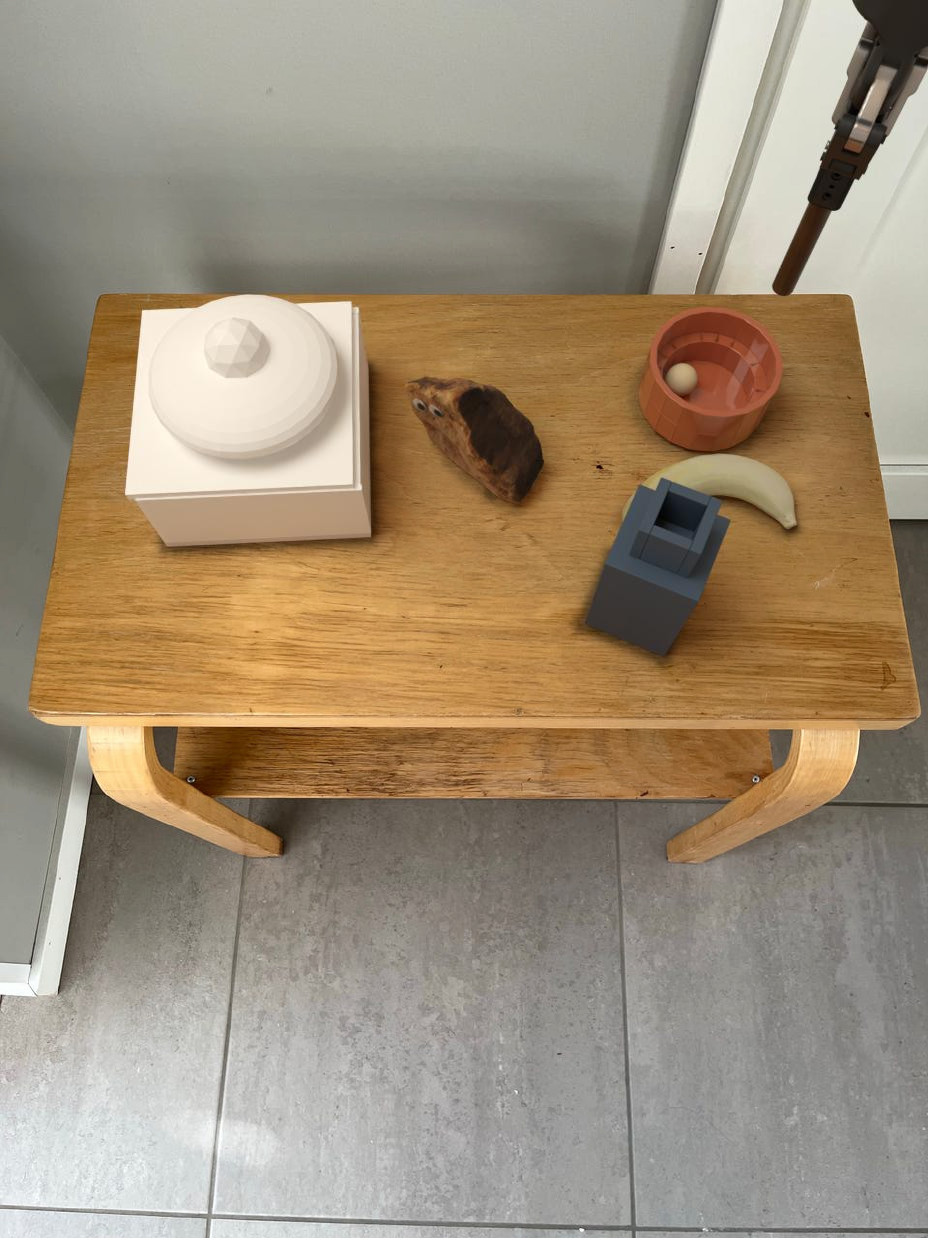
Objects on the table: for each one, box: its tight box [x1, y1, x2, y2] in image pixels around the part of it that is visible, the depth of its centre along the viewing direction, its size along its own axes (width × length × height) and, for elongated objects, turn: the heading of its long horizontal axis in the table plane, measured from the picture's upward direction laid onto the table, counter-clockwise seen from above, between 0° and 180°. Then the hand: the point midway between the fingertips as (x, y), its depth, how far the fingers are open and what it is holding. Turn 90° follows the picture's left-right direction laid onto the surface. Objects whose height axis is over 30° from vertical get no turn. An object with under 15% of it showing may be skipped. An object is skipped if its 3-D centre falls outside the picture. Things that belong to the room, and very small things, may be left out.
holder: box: [583, 477, 731, 657], centre depth 68 cm, size 7×7×16 cm
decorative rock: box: [404, 375, 545, 505], centre depth 76 cm, size 12×6×11 cm, turn 52°
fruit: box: [621, 453, 798, 530], centre depth 78 cm, size 7×15×3 cm, turn 97°
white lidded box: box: [124, 294, 372, 548], centre depth 74 cm, size 18×18×16 cm
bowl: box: [638, 306, 784, 452], centre depth 80 cm, size 11×11×6 cm
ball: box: [665, 363, 698, 396], centre depth 82 cm, size 3×3×3 cm
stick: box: [771, 202, 833, 297], centre depth 61 cm, size 2×2×14 cm
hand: (828, 190), depth 59 cm, fingers closed on stick, 1 cm apart
